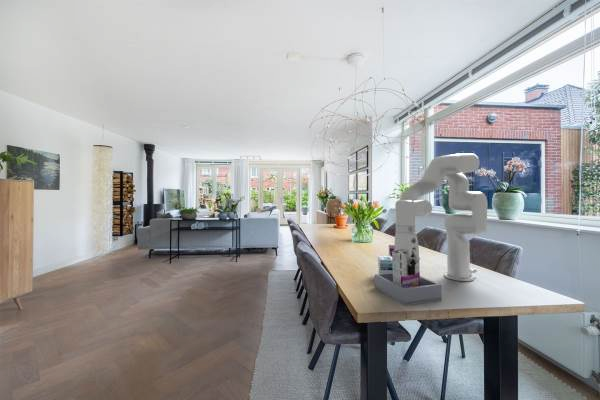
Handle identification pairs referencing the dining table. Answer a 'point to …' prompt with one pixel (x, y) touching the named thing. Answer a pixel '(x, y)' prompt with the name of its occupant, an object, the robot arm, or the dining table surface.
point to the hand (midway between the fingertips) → (406, 272)
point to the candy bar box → (404, 271)
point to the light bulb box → (385, 264)
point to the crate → (409, 290)
